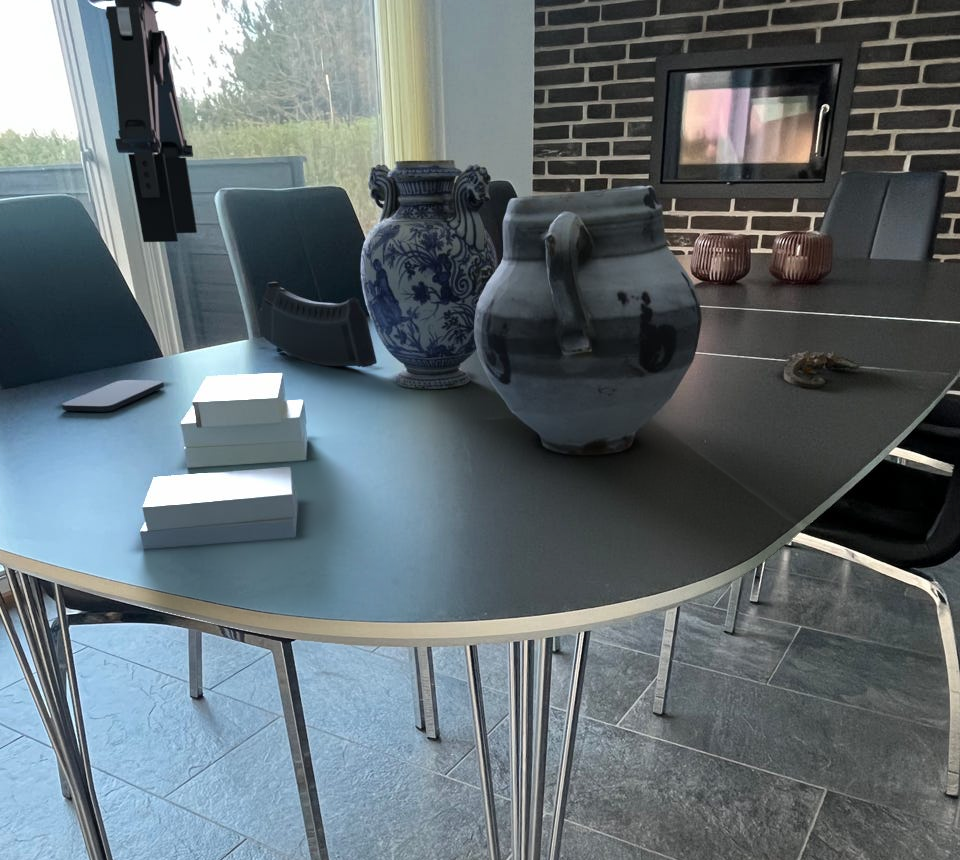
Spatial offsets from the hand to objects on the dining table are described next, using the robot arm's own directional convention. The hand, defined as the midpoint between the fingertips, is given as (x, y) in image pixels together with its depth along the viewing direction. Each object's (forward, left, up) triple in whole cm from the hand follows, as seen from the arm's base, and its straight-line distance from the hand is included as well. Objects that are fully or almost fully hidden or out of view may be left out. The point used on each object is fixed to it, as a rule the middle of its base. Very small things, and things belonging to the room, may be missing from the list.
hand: (172, 237), depth 80 cm
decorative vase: (+27, +36, -22) cm, 50 cm away
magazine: (+10, +57, -22) cm, 62 cm away
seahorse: (+81, +26, -22) cm, 88 cm away
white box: (+3, -19, -22) cm, 29 cm away
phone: (-17, +36, -22) cm, 45 cm away
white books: (+4, +3, -22) cm, 22 cm away
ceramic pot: (+39, -1, -22) cm, 45 cm away
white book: (+4, +3, -17) cm, 17 cm away
